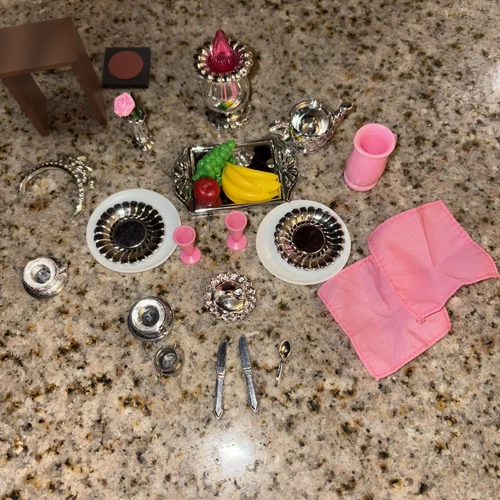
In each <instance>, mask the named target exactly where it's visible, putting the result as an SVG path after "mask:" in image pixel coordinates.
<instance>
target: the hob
mask: <svg viewBox="0 0 500 500" xmlns="http://www.w3.org/2000/svg"><path fill="white" fill-rule="evenodd" d="M151 60H152V50H151V47H150V46H112V47H111V46H105V48H104V58H103V66H102V75H101V81H100V84H101V86H102V89H149V86H150V75H151V74H150V73H151Z"/></svg>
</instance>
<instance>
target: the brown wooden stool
mask: <svg viewBox="0 0 500 500" xmlns="http://www.w3.org/2000/svg"><path fill="white" fill-rule="evenodd" d="M67 66H71V68H72V69H71V70H72V71H73V74H74V76H75V79H76V80H77V81H78V84H79V86H80V88H81V90H82V92H83V94H84V96H85V98H86V100H87V102H88V104H89V106H90V108H91V110H92V112H93V114H94V116H95V118H96V120H97V122H98V125H99V126H100V127H103V126H108V124H109V123H108V117H107V111H106V110H107V109H106V105H105V104H106V103H105V98H104V91H103V87H102V85H101V81H100V78H99V77H98V74H97V73H96V69H95V68H94V65H93V63H92V61H91V58H90V56H89V54H88V51H87V49H86V47H85V45H84V42H83V39H82V38H81V35H80V33H79V30H78V28H77V25H76V23H75V21H74V19H73V17H72V16H65V17H59V18H54V19H48V20H47V19H46V20H41V21H37V22H30V23H25V24H19V25H12V26H5V27H0V81H1V83H2V84H3V86H5V88H6V90H7V91H8V92H9V94H10V95H11V96H12V97H13V99H14V100H15V102H16V103H17V104H18V106H19V107H20V109H21V110H22V111H23V113H24V114H25V116H26V117H27V119H28V120H29V121H30V123H31V124H32V125H33V127H34V129H35V130H36V131H37V133H38V134H39V136H40V137H41V138H45V137H46V138H47V137H50V127H49V119H48V118H49V117H48V109H47V99H46V95H45V94H44V92H43V90H41V88H40V87H39V85H38V83H37V82H36V80H35V78H34V76H33V75H32V73H39V72H43V71H50V70H55V69H56V68H61V67H67ZM56 70H57V69H56Z"/></svg>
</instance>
